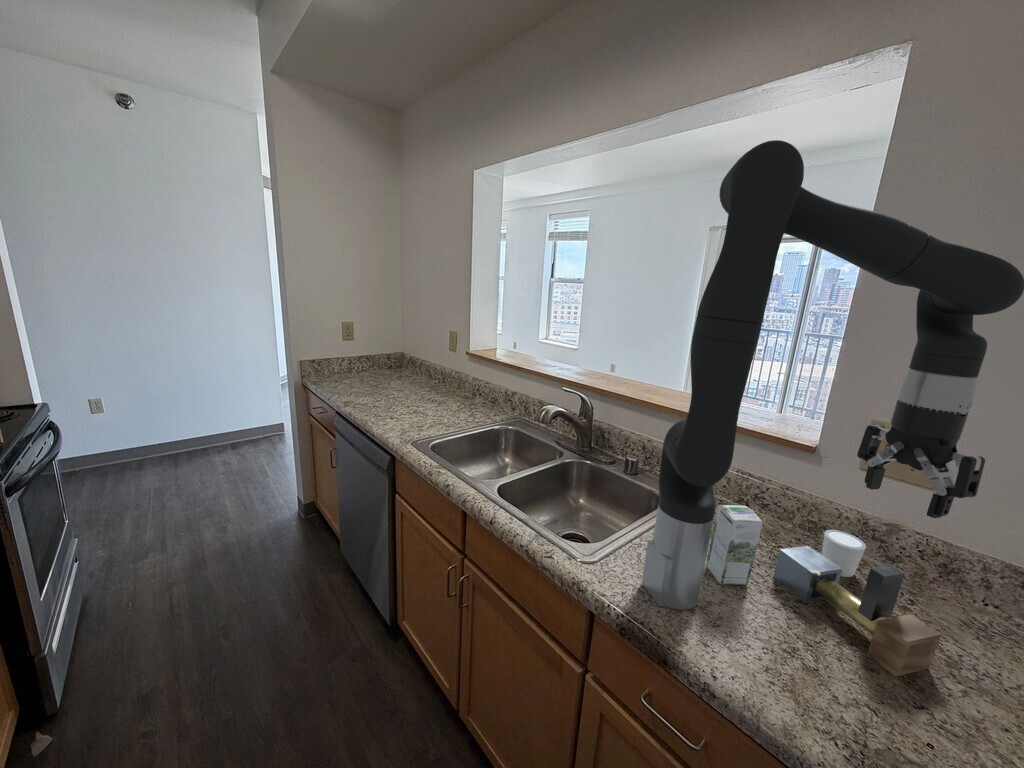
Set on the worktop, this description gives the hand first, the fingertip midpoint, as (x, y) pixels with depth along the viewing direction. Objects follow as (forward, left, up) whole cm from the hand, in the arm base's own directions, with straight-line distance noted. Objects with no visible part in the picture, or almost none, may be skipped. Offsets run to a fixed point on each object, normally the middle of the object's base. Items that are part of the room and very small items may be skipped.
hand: (901, 501), depth 64 cm
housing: (0, +11, -25) cm, 27 cm away
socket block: (0, -6, -25) cm, 25 cm away
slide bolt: (0, +1, -23) cm, 23 cm away
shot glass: (+13, +14, -25) cm, 32 cm away
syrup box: (-13, +16, -25) cm, 33 cm away
